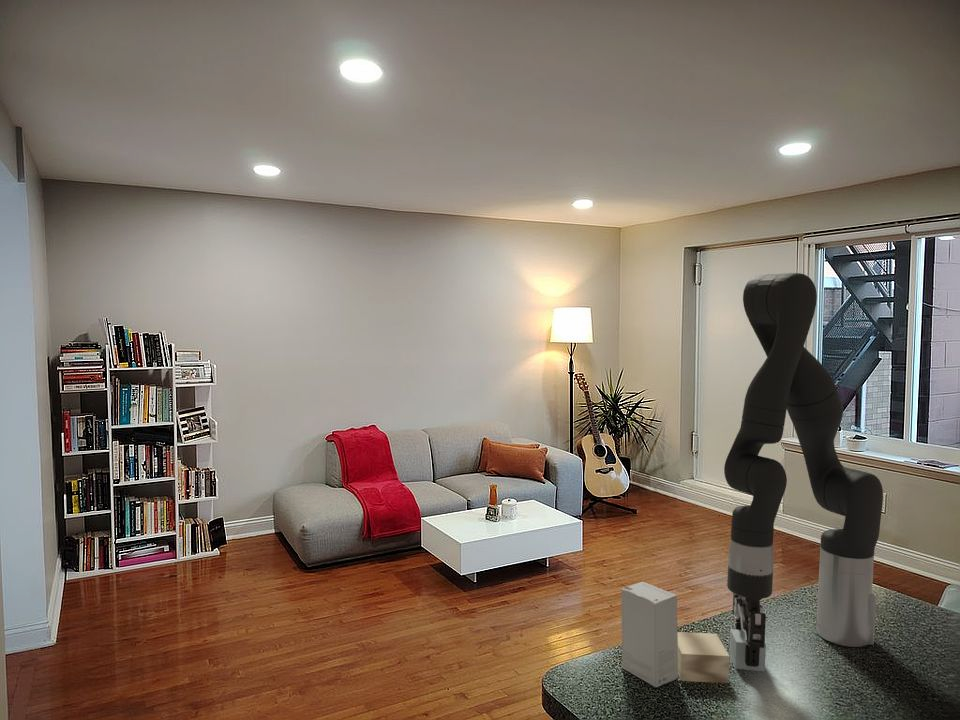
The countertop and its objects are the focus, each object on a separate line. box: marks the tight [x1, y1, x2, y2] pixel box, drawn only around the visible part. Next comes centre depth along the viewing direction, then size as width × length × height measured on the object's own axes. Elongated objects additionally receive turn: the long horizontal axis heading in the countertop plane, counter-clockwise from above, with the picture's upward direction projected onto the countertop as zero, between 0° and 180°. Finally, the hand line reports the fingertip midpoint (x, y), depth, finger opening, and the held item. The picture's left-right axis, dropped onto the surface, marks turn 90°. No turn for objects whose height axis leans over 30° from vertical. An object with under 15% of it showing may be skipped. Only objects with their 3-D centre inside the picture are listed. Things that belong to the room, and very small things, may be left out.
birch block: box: [677, 631, 731, 684], centre depth 119 cm, size 8×8×5 cm
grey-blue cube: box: [728, 628, 767, 672], centre depth 122 cm, size 5×5×5 cm
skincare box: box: [620, 581, 679, 688], centre depth 117 cm, size 8×6×15 cm
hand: (746, 653), depth 122 cm, fingers open, 7 cm apart
